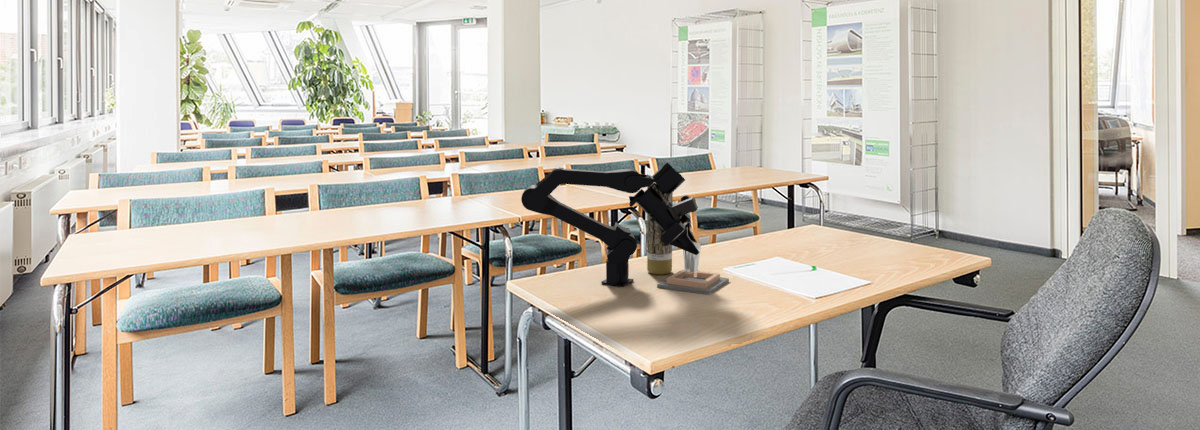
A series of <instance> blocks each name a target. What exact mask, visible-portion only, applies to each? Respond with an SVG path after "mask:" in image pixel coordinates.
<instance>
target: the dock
mask: <svg viewBox="0 0 1200 430" xmlns="http://www.w3.org/2000/svg"><path fill="white" fill-rule="evenodd" d="M729 281H730V279H729V278H728V277H722V276H721V273H715V272H710V271H709V272H707V271H701V270H700V271H699V270H698V276H697V277H695V278H688V277H685V272H684V268H683V269H681V270H679V271H678V272H676V273H673V274H672V275H670V276H668V277H666V279H664V280H662V281H661V282H659V283H657V285H656V287H657V288H659V289H660V288H661V289H667V290H673V291H682V292H689V293H695V294H702V295H703V294H704V295H711V294H712V293H714V292H715V291H717V290H718V289H720V288H721V287H723V286H724V285H725V284H727V283H729Z"/></svg>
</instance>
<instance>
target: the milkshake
mask: <svg viewBox="0 0 1200 430" xmlns="http://www.w3.org/2000/svg"><path fill="white" fill-rule="evenodd" d="M704 240H705V238H703V240H702V242H701V243H699V242H698V241H697V242H693V241H692V242H693V243H694V245H695V246H696V248H697V249H698V251H699V254H698V255H694V254H692V253H690V252H688V251H685V250H683V249H682V251H683V269H684V272H685V277H688V278H695V277H697V276H698V271H699V265H700V255H701V248H702V245H703V242H704Z"/></svg>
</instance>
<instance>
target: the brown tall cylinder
mask: <svg viewBox="0 0 1200 430" xmlns="http://www.w3.org/2000/svg"><path fill="white" fill-rule="evenodd" d="M655 184H656V183H655ZM649 187H650V186H649ZM649 187H646V190H647V189H648V188H649ZM653 188H654V189H655V190H656V191H657V192H658V194H659V195H660V196H661V197H662V198H663V199H664V200H665V201H666V202H667V203H668V202H671V203H672V204H673V200H674V199H673V197H674V196H673V193H674V192H672V193H671V194H670V195H669V194H667V195H666V193H665V195H663V194H662V193H661V192H660V191H659V190H658V189H657V187H656V186H655V185H654V186H653ZM646 219H647V221H646V223H647V225H646V228H647V229H646V231H647V233H646V236H647V237H646V242H647V243H646V244H647V245H646V249H647V250H646V252H647V253H646V261H647V262H646V265H647V266H646V269H647V272H648V273H649V274H652V275H660V276H661V275H668V274H671V272H672V270H673V245H670V243H669V244H668V245H667V246H666V245H665V244H664V243H663V242H662V241H661V235H662V234H663V233H662V232H661V231H662V229H661V228H660V227H659V226H658V225H657V224H656V223H655V222H652V221H651V220H650V219H651V217H650V216H649V215H648V214H647V213H646Z"/></svg>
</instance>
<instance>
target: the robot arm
mask: <svg viewBox="0 0 1200 430" xmlns="http://www.w3.org/2000/svg"><path fill="white" fill-rule="evenodd" d="M685 181H686V179H685V178H684V176H683V175H682V174H681V173H680V172H679V171H677V170H676V169H675V168H674V167H673V166H672V165H671V164H670V163H669V162H667V161H665V163H663V164H662V166H661V167H660V168H659V169H658V170H656V172H654V174H652V175H650V174H649V173H647V174H643V173H639V172H638V170H636V169H635V168H632V167H631V168H620V169H614V170H608V171H607V170H606V171H605V170H604V171H602V170H589V169H576V168H574V169H572V168H563V167H559V166H558V167H555V168H553V169H552V170H551V172H549V173H548V174H547V175H545V177H544V178H542V179H541V180H540V181H538V182H537V183H536V184H532V185H529V186H527V187H526V188H525V189H524V190H523V193H522V194H521V203H522V204H521V205H522V206H523V208H525V209H526V210H527V211H530V212H534V213H538V214H542V215H547V216H551V217H554V218H556V219H558V220H560V221H562V222H564V223H565V224H568V225H570V226H572V227H573V228H576V229H578V230H580V231H582V232H584V233H586V234H588V235H590V236H592V237H594V238H597V239H598V240H600V241H602V243H604V244H605V245H606V246H607V247H606V248H605V249H604V250H605V253H606V261H605V269H606V272H605V273H606V274H605V277H606V278H605V279H604V280H601V281H600V283H601V284H603V285H609V286H615V287H624V286H627V285H628V284H631V283H632V282H634V278H629V276H630V275H629V274H630V273H629V270H630V269H629V268H630V267H629V259H630V257H631V256H632V255H633V254H634V253H635V252H636V251H637V249H638V243H637V240H636V238H635V235H634V233H632V232H631V229H630V228H629V227H625V226H622V225H621V224H619V222H615V223H614V225H613V226H611V225H607V224H605V223H603V222H601V221H599V220H597V219H594V218H593V217H591V216H589V215H586V214H585V213H582V212H581V211H579V210H576V209H575V208H572V207H570V205H569V206H568V205H567V204H565V203H563V202H560V201H559V200H558V199H556V198H555V197H554V196H553V195H552V194H551V193H553V192H554V191H555V189H557V187H559V186H560V185H575V186H590V187H591V186H592V187H603V188H605V187H606V188H610V189H612V190H616V191H618V192H622V193H627V194H635V193H636V194H635V195H633V196H632V195H630V196H628V199H629V207H631V208H632V207H633V206H634V205H635V204H637V205H638V206H639V207H640V208H641V209H642V210H643V211H644V212H645V213H646V215H647V214H648V215H649V216H650V217H651V219H650V220H651V221H652V222H655V223H656V224H657V225H658V226H659V227H660V228H661V229H662V231H661V232H662V233H663V234H662V235H661V241H662V242H663V243H664V244H665V245H666V246H667V245H668V244H669V243H670V245H672V247H673V246H674V247H675V248H677V249H678V248H679V249H680V250H682V251H683V250H685V251H688V252H690V253H692V254H694V255H698V254H699V251H698V249H697V248H696V246H695V245H694V243H693V242H697V243H698V240H696V237H695V236H694V234H693V232H692V230H691V224H692V223H691V221H689V220H690V219H691V216H690V215H689V214H690V213H694V212H696V211H697V210H698V208H699V207H698V205H697V202H696V199H695V197H694V196H691V197H690V196H689V195H688V194H686V195H685V194H684V195H682V196H681V197H680V202H679V201H678V202H677V203H674V204H673V202H672V203H671V202H668V203H667V202H666V201H665V200H664V199H663V198H662V197H661V196H660V195H659V194H658V192H657V191H656V190H655V189H654V188H653V186H654V185H655V186H656V187H657V189H658V190H659V191H660V192H661V193H662V194H663V195H665V193H666V195H667V194H669V195H670V194H671V193H672V192H673V193H674V192H675V191H676V190H677V189H678V188H679V187H681V186H682V184H683V183H684V182H685ZM655 183H656V184H655ZM649 186H650V187H649ZM647 187H649V188H648V189H647ZM643 188H646V190H645V191H644V190H643ZM687 221H688V222H687ZM686 222H687V223H686ZM692 241H693V242H692Z"/></svg>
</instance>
